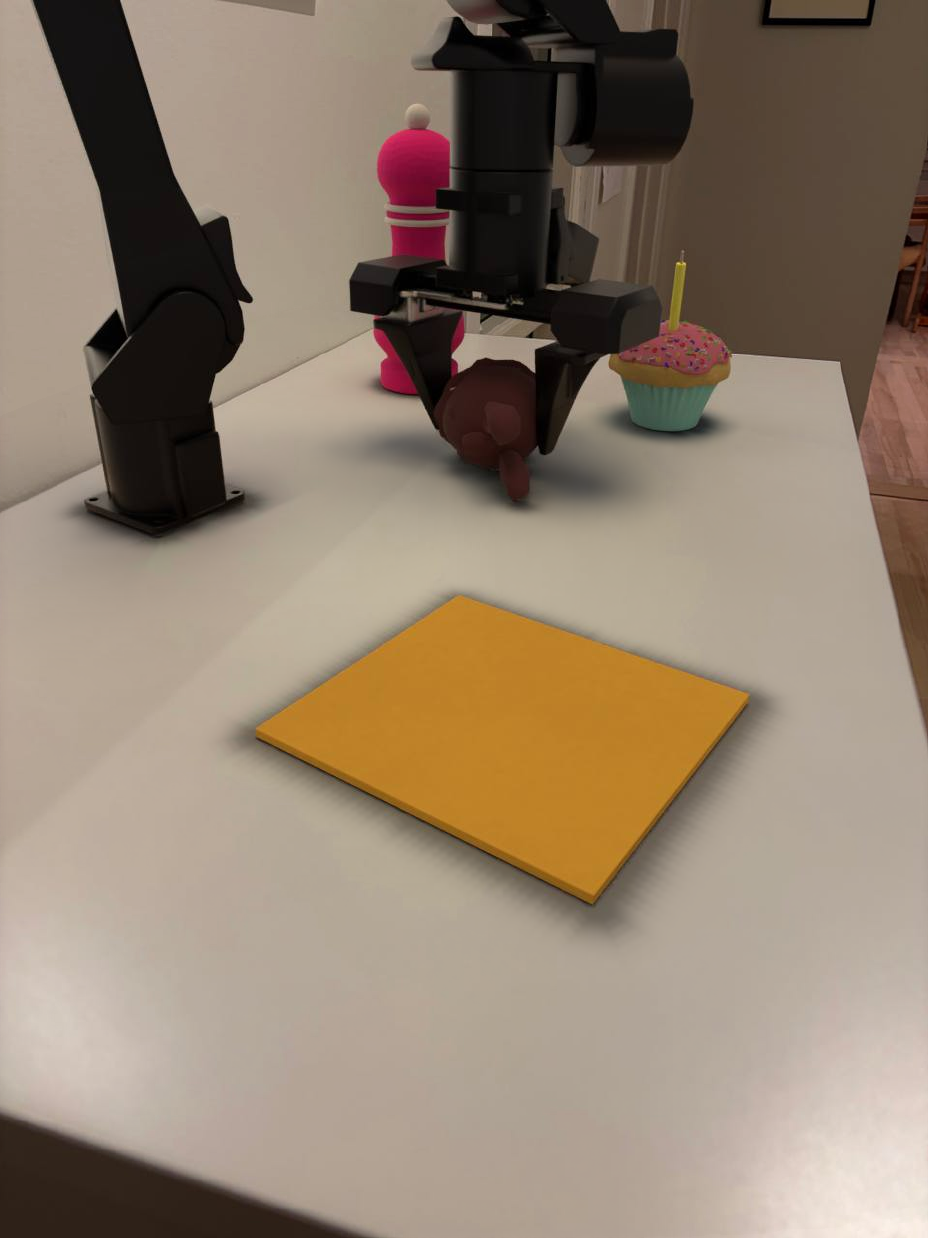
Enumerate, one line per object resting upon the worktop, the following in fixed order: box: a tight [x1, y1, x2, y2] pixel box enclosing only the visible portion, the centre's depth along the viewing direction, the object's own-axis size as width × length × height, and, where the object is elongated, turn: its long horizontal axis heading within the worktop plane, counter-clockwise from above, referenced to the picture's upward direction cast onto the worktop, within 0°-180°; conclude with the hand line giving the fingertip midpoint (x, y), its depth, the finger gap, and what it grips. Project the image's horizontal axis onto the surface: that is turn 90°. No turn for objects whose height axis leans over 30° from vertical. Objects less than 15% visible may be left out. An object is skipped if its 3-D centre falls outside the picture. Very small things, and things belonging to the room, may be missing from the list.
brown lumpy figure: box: [434, 357, 538, 502], centre depth 58 cm, size 7×7×15 cm
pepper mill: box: [372, 103, 466, 395], centre depth 71 cm, size 7×7×20 cm
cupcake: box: [607, 250, 733, 432], centre depth 65 cm, size 9×8×12 cm
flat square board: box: [254, 594, 750, 905], centre depth 36 cm, size 14×13×1 cm
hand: (492, 440), depth 59 cm, fingers closed on brown lumpy figure, 7 cm apart
